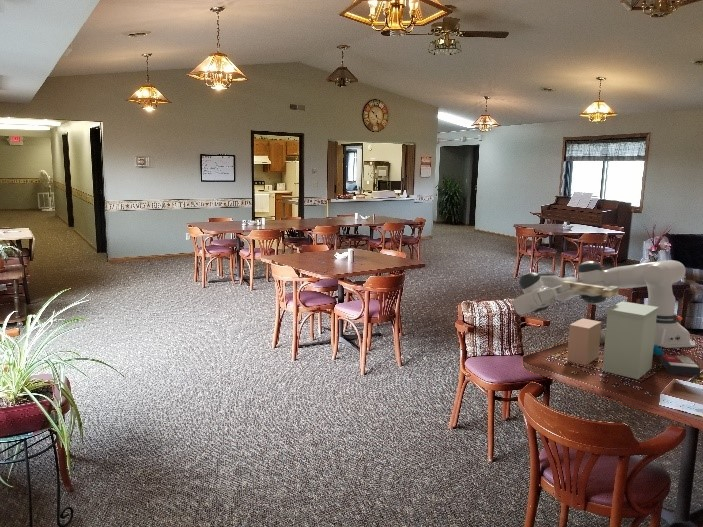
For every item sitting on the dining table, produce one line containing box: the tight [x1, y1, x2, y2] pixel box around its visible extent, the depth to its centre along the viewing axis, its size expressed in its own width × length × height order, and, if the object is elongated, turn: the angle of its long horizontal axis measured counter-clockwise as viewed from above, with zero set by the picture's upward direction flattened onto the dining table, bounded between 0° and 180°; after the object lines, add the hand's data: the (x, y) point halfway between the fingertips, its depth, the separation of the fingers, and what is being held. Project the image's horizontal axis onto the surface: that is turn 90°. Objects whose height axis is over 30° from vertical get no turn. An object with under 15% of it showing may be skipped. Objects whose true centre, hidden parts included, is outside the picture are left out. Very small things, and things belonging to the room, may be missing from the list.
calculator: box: [659, 354, 701, 377], centre depth 223 cm, size 11×4×15 cm
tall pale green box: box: [602, 300, 659, 380], centre depth 220 cm, size 14×18×26 cm
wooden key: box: [562, 281, 620, 299], centre depth 229 cm, size 21×10×3 cm, turn 46°
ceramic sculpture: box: [600, 328, 606, 344], centre depth 254 cm, size 11×9×15 cm
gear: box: [653, 345, 664, 357], centre depth 237 cm, size 11×6×10 cm
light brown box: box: [566, 318, 602, 366], centre depth 233 cm, size 8×14×16 cm, turn 136°
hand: (572, 284), depth 233 cm, fingers closed on wooden key, 3 cm apart
